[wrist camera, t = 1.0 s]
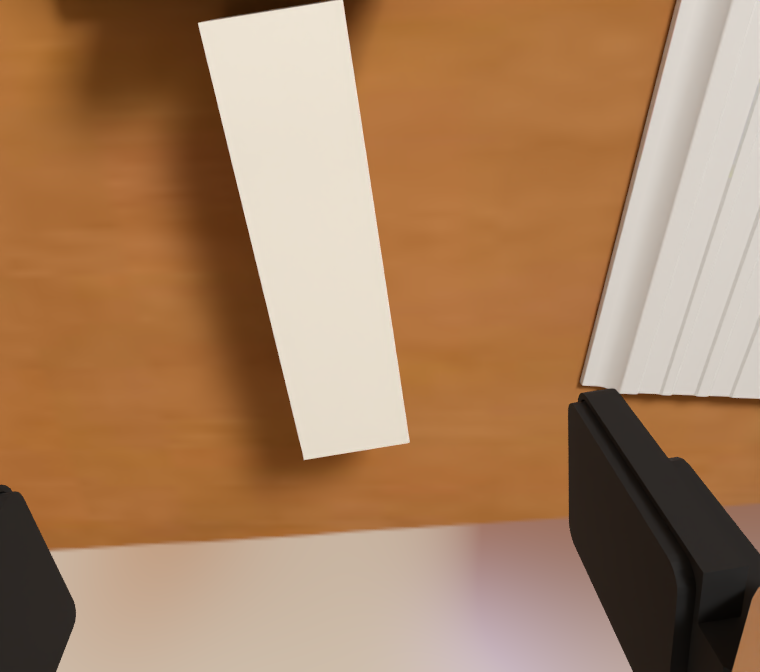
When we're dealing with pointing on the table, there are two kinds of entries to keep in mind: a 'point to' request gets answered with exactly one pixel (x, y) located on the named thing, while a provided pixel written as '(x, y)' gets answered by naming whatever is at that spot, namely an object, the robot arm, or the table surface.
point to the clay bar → (311, 218)
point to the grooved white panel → (690, 221)
